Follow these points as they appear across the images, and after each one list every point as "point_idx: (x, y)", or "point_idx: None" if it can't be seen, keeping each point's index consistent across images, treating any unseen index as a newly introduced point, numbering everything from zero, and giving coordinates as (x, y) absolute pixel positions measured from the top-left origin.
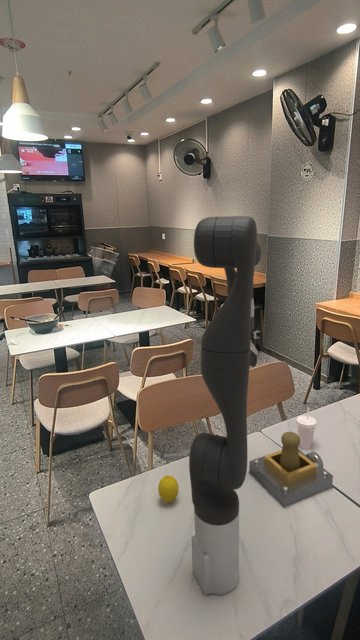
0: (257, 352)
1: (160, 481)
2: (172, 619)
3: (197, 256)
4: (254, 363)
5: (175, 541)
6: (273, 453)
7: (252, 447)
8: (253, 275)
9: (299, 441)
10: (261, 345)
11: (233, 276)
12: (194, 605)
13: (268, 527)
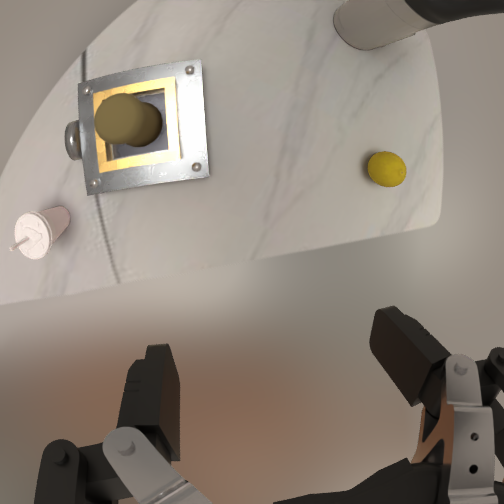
0: (110, 444)
1: (405, 176)
2: None
3: None
4: (155, 361)
5: (387, 93)
6: (154, 160)
7: (161, 249)
8: None
9: (106, 98)
10: (53, 497)
11: None
12: None
13: (254, 44)
